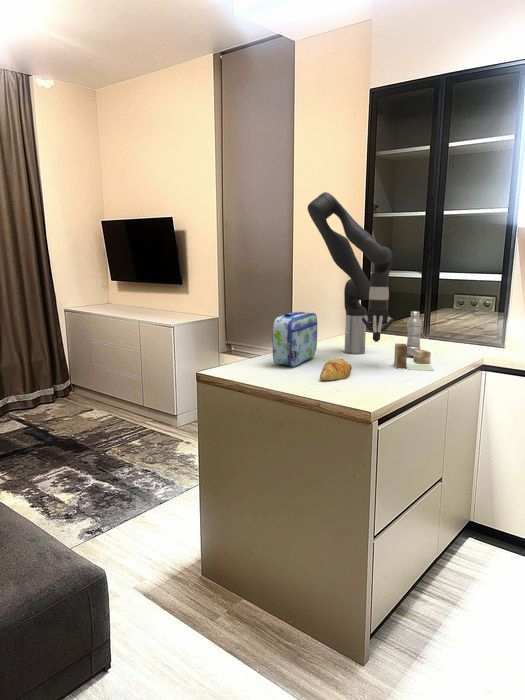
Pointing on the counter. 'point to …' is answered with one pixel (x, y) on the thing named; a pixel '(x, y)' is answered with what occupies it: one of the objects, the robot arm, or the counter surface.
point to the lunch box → (294, 338)
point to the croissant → (335, 370)
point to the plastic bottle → (413, 333)
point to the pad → (419, 367)
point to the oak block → (422, 356)
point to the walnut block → (400, 356)
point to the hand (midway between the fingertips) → (376, 341)
